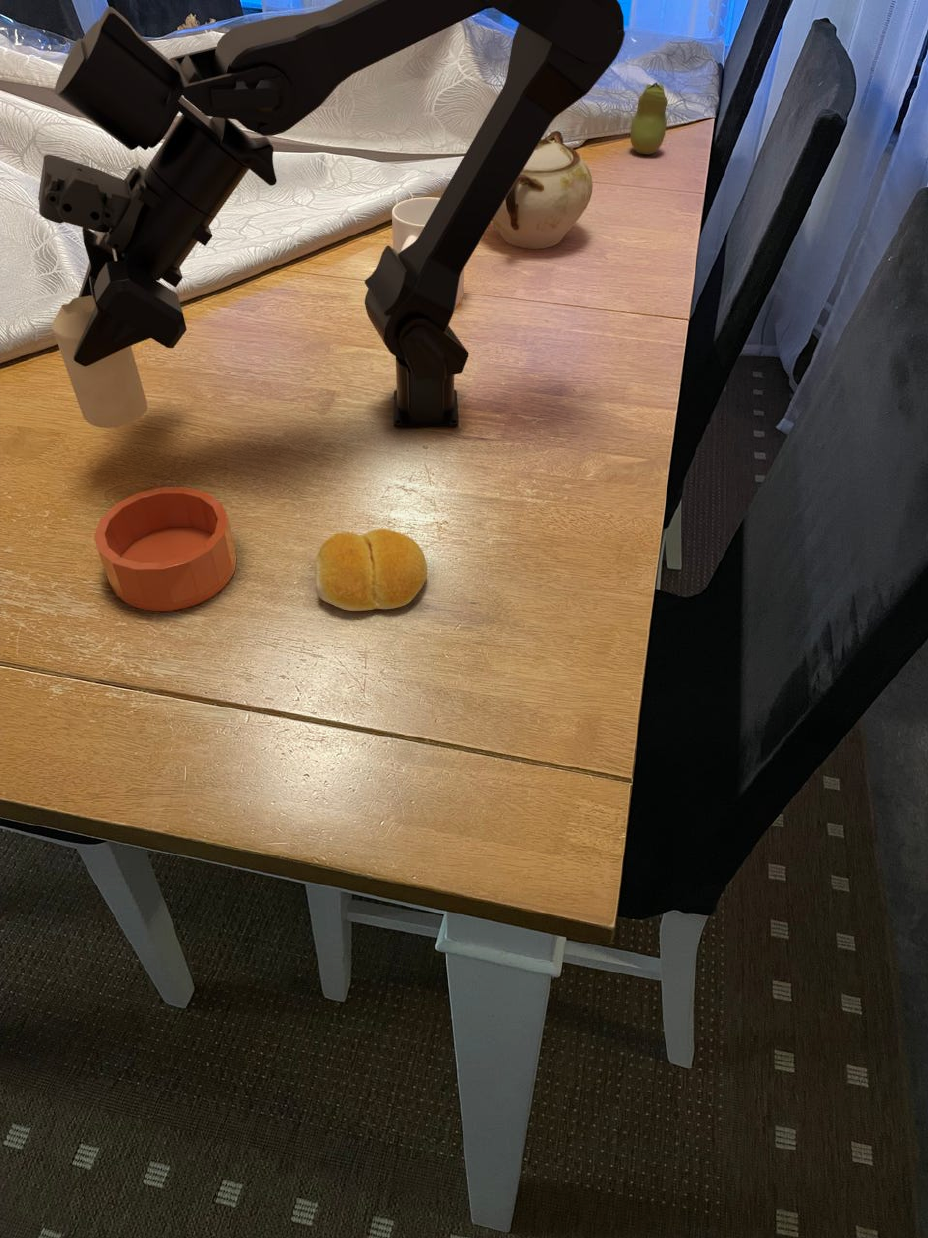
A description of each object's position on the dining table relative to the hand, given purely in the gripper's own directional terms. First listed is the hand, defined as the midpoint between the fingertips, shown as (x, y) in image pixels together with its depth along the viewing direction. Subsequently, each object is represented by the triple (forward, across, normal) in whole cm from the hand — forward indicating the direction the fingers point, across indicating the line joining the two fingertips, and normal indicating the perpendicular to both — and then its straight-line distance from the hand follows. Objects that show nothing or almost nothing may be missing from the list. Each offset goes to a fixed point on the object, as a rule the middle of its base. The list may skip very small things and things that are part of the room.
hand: (77, 345), depth 72 cm
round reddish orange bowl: (+6, +16, +11) cm, 20 cm away
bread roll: (-4, +22, +22) cm, 31 cm away
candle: (+4, 0, +6) cm, 7 cm away
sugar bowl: (-31, -37, +50) cm, 69 cm away
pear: (-53, -62, +72) cm, 108 cm away
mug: (-17, -22, +35) cm, 45 cm away
